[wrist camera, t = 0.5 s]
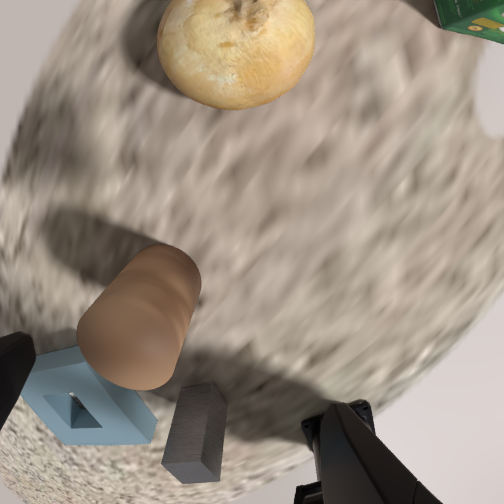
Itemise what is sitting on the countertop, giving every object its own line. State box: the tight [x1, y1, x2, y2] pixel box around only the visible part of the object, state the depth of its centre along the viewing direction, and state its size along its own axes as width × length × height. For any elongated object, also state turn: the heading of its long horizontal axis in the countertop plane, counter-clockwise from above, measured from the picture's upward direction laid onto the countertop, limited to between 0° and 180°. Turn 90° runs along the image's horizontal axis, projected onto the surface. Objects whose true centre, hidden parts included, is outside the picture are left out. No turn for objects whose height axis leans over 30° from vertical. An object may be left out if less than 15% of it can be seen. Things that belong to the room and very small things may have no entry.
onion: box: [157, 0, 315, 110], centre depth 13 cm, size 8×8×7 cm
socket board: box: [20, 345, 158, 445], centre depth 25 cm, size 10×12×3 cm
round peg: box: [77, 244, 201, 390], centre depth 18 cm, size 5×5×8 cm
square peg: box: [161, 382, 227, 484], centre depth 22 cm, size 3×3×8 cm
